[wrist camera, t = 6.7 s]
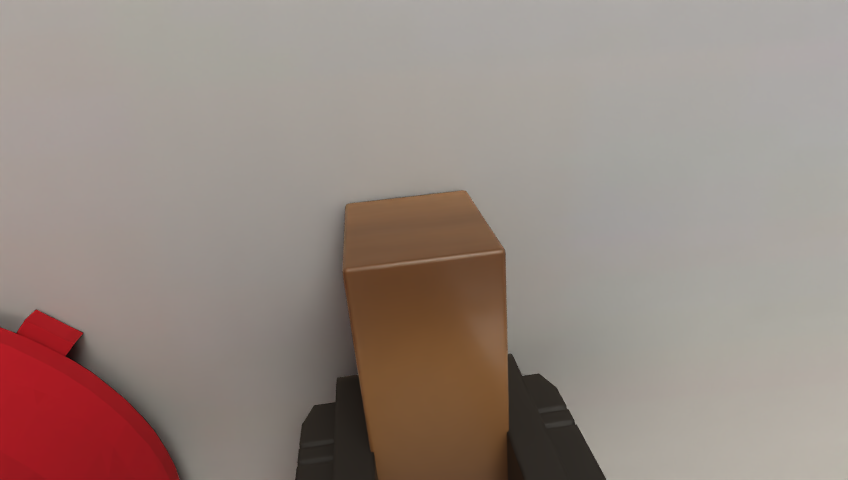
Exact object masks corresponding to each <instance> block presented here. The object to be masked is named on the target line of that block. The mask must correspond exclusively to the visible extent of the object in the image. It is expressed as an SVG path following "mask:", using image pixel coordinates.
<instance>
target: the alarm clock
mask: <svg viewBox="0 0 848 480" xmlns="http://www.w3.org/2000/svg"><path fill="white" fill-rule="evenodd" d="M82 334H83V333H82V332H80V331H78V330H76V329H74V328H72V327H70V326H68V325H66V324H64V323H62V322H60V321H58V320H56V319H54V318H52V317H50V316H48V315H46V314H44V313H42V312H40V311H38V310H35V311H34V312H33V313H32V314H31V315H30V316H29V317H27V318H26V319H25V321H24V322H23V324H22V325H21V327H20V328H19V330H18V331H17V333H14V332H11V331H9V330H6V329H3V328H0V480H180V479H179V476H178V473H177V470H176V467H175V465H174V463H173V461H172V459H171V457H170V456H169V454H168V452H167V450H166V448H165V447H164V445H163V444H162V442H161V440H160V439H159V437H158V436H157V434H156V433H155V431H154V430H153V428H152V427H151V426H150V425H149V424H148V423H147V422H146V421H145V419H144V418H143V417H142V416H141V415H140V414H139V413H138V412H137V411H136V410H135V409H134V408H133V407H132V406H131V405H130V404H129V403H128V402H127V401H126V400H125V399H124V398H123V397H122V396H121V395H119V394H118V393H117V392H116V391H115V390H113V389H112V388H111V387H110V386H108V385H107V384H106V383H105V382H103V381H102V380H101V379H100V378H98V377H97V376H96V375H95V374H93V373H92V372H91V371H89V370H87V369H86V368H84V367H83V366H81V365H79V364H78V363H76V362H75V361H73V360H71V359H69V358H67V357H65V356H66V355H67V354H68V352H69V351H70V349H71V348H72V346H73V345H74V344H75V342H76V341H77V340H78V339H79V338H80V336H81V335H82Z"/></svg>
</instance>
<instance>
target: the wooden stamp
mask: <svg viewBox="0 0 848 480" xmlns="http://www.w3.org/2000/svg"><path fill="white" fill-rule="evenodd" d="M342 273H343V280H344V286H345V292H346V299H347V305H348V312H349V318H350V324H351V331H352V337H353V344H354V350H355V356H356V363H357V369H358V376H359V382H360V388H361V395H362V401H363V408H364V414H365V421H366V427H367V433H368V440H369V446H370V450H371V452H374V456H375V463H376V469H377V476H378V480H508V461H507V432H508V431H509V395H508V348H507V301H506V253H505V250H504V248H503V247H502V245H501V243H500V242H499V240H498V239H497V237H496V236H495V234H494V233H493V231H492V230H491V228H490V227H489V225H488V224H487V222H486V221H485V219H484V218H483V216H482V214H481V213H480V211H479V210H478V208H477V207H476V205H475V204H474V202H473V201H472V199H471V198H470V196H469V195H468V193H467V192H466V191H455V192H446V193H437V194H429V195H420V196H411V197H402V198H394V199H385V200H376V201H367V202H359V203H350V204H347V205H346V207H345V226H344V247H343V269H342Z"/></svg>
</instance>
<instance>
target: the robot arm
mask: <svg viewBox="0 0 848 480" xmlns="http://www.w3.org/2000/svg"><path fill="white" fill-rule="evenodd" d="M508 395H509V431H508V432H507V461H508V480H606V478H605V476H604V474H603V472H602V471H601V469H600V467H599V465H598V463H597V461H596V460H595V458H594V456H593V454H592V452H591V450H590V448H589V447H588V445H587V443H586V441H585V439H584V437H583V436H582V434H581V432H580V430H579V428H578V426H577V424H576V425H575V422H574V419H573V417H572V415H571V413H570V412H569V410H568V409H567V408H566V404H565V402H564V401H563V399H562V397H561V395H560V393H559V391H558V389H557V388H556V387H555V386H554V385H553V384H551V383H550V382H549V381H548V380H546V379H545V378H544V377H542V376H541V375H540V374H532V375H525V376H522V375H521V372H520V370H519V368H518V366H517V364H516V362H515V360H514V357H513V356H512V354H508ZM297 463H298V467H297V469H296V477H295V480H378V476H377V469H376V463H375V456H374V452H371V450H370V446H369V440H368V433H367V427H366V421H365V414H364V408H363V401H362V395H361V388H360V382H359V376H358V375H352V376H344V377H338V378H337V384H336V402H335V403H328V404H321V405H314V407H313V408H312V410H311V411H310V413H309V414H308V416H307V418H306V419H305V421H304V422H303V424H302V429H301V437H300V449H299V453H298V461H297Z"/></svg>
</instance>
